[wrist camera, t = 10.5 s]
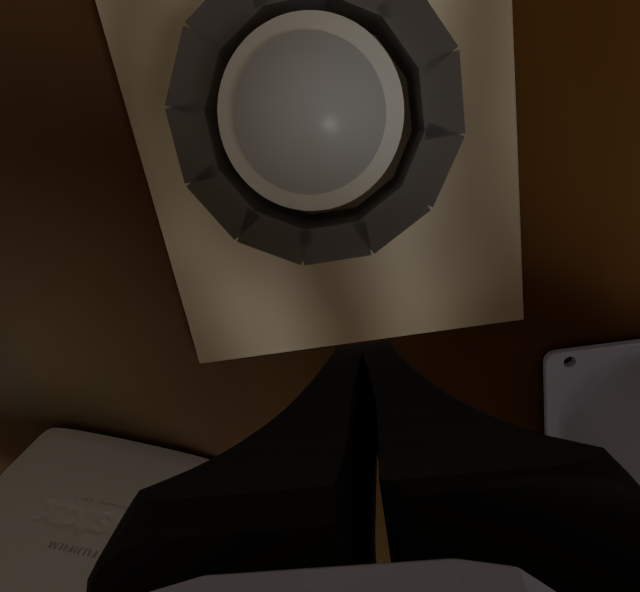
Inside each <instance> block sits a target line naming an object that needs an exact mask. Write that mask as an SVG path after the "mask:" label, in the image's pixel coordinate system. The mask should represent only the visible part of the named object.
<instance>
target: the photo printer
mask: <svg viewBox="0 0 640 592" xmlns="http://www.w3.org/2000/svg"><path fill="white" fill-rule="evenodd" d="M208 460H210V459H206V458H202V457H199V456H195V455H191V454H187V453H183V452H179V451H175V450H171V449H166V448H162V447H158V446H153V445H149V444H144V443H140V442H135V441H130V440H125V439H121V438H117V437H111V436H106V435H101V434H96V433H91V432H86V431H80V430H74V429H66V428H51V429H48V430H47V431H45V432H44V433H43V434H41V435H40V436H39V437H38V438H37V439H36V440H35V441H34V442H33V443H32V444H31V445H30V446H29V447H28V448H27V449H26V450H25V451H24V452H23V453H22V454H21V455H20V456H19V457H18V458H17V459H16V460H15V461H14V462H13V463H12V464H11V465H10V466H9V467H8V468H7V469H6V470H5V471H4V472H3V473H2V474H1V475H0V592H86V589H87V579H88V577H89V575H90V574H91V572H92V570H93V568H94V566H95V564H96V562H97V560H98V558H99V556H100V555H101V553H102V551H103V549H104V548H105V546H106V544H107V543H108V541H109V539H110V537H111V536H112V534H113V532H114V531H115V529H116V527H117V525H118V524H119V522H120V520H121V518H122V517H123V515H124V513H125V512H126V510H127V509H128V507H129V505H130V504H131V502H132V501H133V499H134V497H135V496H136V494H137V493H138V491H139V490H141V489H144V488H146V487H149V486H152V485H154V484H156V483H159V482H161V481H164V480H166V479H168V478H171V477H173V476H176V475H178V474H180V473H183V472H185V471H188V470H190V469H192V468H194V467H196V466H198V465H200V464H202V463H204V462H206V461H208Z"/></svg>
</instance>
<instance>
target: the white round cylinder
mask: <svg viewBox="0 0 640 592" xmlns="http://www.w3.org/2000/svg"><path fill="white" fill-rule="evenodd" d="M217 114H218V125H219V131H220V136H221V139H222V143H223V146H224V149H225V151H226V153H227V155H228V158H229V160H230V161H231V163H232V165H233V166H234V168H235V170H236V171H237V172H238V174H239V175H240V176H241V177H242V179H243V180H244V181H245V182H246V183H247V184H248V185H249V186H250V187H251V188H252V189H254V190H255V191H256V192H257V193H259V194H260V195H261V196H263V197H265V198H266V199H268V200H270V201H272V202H274V203H276V204H279V205H281V206H284V207H288V208H291V209H296V210H303V211H318V210H327V209H331V208H335V207H339V206H341V205H344V204H346V203H349V202H351V201H352V200H354V199H356V198H358V197H359V196H361V195H362V194H364V193H365V192H366V191H368V190H369V189H370V188H371V187H372V186H373V185H374V184H375V183H376V182H377V181H378V180H379V179H380V178H381V176H382V175H383V174H384V173H385V171H386V170H387V168H388V166H389V165H390V163H391V162H392V160H393V157H394V155H395V153H396V151H397V148H398V145H399V142H400V139H401V135H402V130H403V123H404V98H403V92H402V87H401V83H400V80H399V77H398V73H397V71H396V69H395V67H394V64H393V62H392V60H391V59H390V57H389V55H388V54H387V52H386V51H385V49H384V48H383V47H382V45H381V44H380V43H379V42H378V41H377V39H376V38H375V37H374V36H373V35H371V34H370V33H369V32H368V31H367V30H366V29H364V28H363V27H362V26H360V25H359V24H357V23H356V22H354V21H352V20H350V19H348V18H346V17H344V16H341V15H338V14H334V13H331V12H326V11H320V10H301V11H294V12H289V13H286V14H283V15H280V16H277V17H275V18H273V19H271V20H269V21H267V22H265V23H264V24H262V25H261V26H259V27H258V28H256V29H255V30H254V31H253V32H252V33H250V34H249V35H248V36H247V37H246V38H245V39H244V40H243V42H242V43H241V44H240V45H239V46H238V47H237V49H236V51H235V52H234V54H233V55H232V57H231V58H230V60H229V62H228V65H227V67H226V69H225V71H224V74H223V77H222V80H221V84H220V89H219V94H218V105H217Z"/></svg>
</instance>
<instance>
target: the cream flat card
mask: <svg viewBox="0 0 640 592" xmlns="http://www.w3.org/2000/svg"><path fill="white" fill-rule="evenodd" d="M95 2H96V5H97V9H98V12H99V15H100V19H101V22H102V26H103V29H104V33H105V36H106V40H107V43H108V47H109V50H110V54H111V57H112V61H113V64H114V67H115V71H116V74H117V78H118V81H119V85H120V88H121V92H122V95H123V99H124V102H125V106H126V109H127V113H128V116H129V120H130V123H131V126H132V130H133V133H134V137H135V140H136V144H137V147H138V151H139V154H140V158H141V161H142V165H143V168H144V172H145V175H146V178H147V182H148V185H149V189H150V192H151V196H152V199H153V203H154V206H155V210H156V213H157V217H158V220H159V224H160V227H161V231H162V234H163V237H164V241H165V244H166V248H167V251H168V255H169V258H170V262H171V265H172V269H173V272H174V276H175V279H176V283H177V286H178V289H179V293H180V296H181V300H182V303H183V307H184V310H185V314H186V317H187V321H188V324H189V328H190V331H191V335H192V338H193V341H194V345H195V348H196V352H197V355H198V359H199V362H200V363H208V362H215V361H222V360H230V359H237V358H244V357H252V356H259V355H266V354H274V353H281V352H288V351H296V350H303V349H310V348H318V347H325V346H332V345H340V344H347V343H354V342H362V341H369V340H376V339H384V338H391V337H398V336H406V335H413V334H420V333H428V332H435V331H442V330H450V329H457V328H464V327H472V326H479V325H486V324H494V323H501V322H508V321H516V320H523V319H524V313H523V286H522V259H521V232H520V205H519V178H518V151H517V125H516V98H515V71H514V44H513V17H512V0H95ZM301 10H320V11H326V12H331V13H334V14H338V15H341V16H344V17H346V18H348V19H350V20H352V21H354V22H356V23H357V24H359V25H360V26H362V27H363V28H364V29H366V30H367V31H368V32H369V33H370V34H371V35H373V36H374V37H375V38H376V39H377V41H378V42H379V43H380V44H381V45H382V47H383V48H384V49H385V51H386V52H387V54H388V55H389V57H390V59H391V60H392V62H393V64H394V67H395V69H396V71H397V73H398V77H399V80H400V83H401V87H402V92H403V98H404V123H403V130H402V135H401V139H400V142H399V145H398V148H397V151H396V153H395V155H394V157H393V160H392V162H391V163H390V165H389V166H388V168H387V170H386V171H385V173H384V174H383V175H382V176H381V178H380V179H379V180H378V181H377V182H376V183H375V184H374V185H373V186H372V187H371V188H370V189H369V190H368V191H366V192H365V193H364V194H362V195H361V196H359V197H358V198H356V199H354V200H352V201H351V202H349V203H346V204H344V205H341V206H339V207H335V208H331V209H327V210H318V211H303V210H296V209H291V208H288V207H284V206H281V205H279V204H276V203H274V202H272V201H270V200H268V199H266V198H265V197H263V196H261V195H260V194H259V193H257V192H256V191H255V190H254V189H252V188H251V187H250V186H249V185H248V184H247V183H246V182H245V181H244V180H243V179H242V177H241V176H240V175H239V174H238V172H237V171H236V170H235V168H234V166H233V165H232V163H231V161H230V160H229V158H228V155H227V153H226V151H225V149H224V146H223V143H222V139H221V136H220V131H219V125H218V114H217V105H218V94H219V89H220V84H221V80H222V77H223V74H224V71H225V69H226V67H227V65H228V62H229V60H230V58H231V57H232V55H233V54H234V52H235V51H236V49H237V47H238V46H239V45H240V44H241V43H242V42H243V40H244V39H245V38H246V37H247V36H248V35H249V34H250V33H252V32H253V31H254V30H255V29H256V28H258V27H259V26H261V25H262V24H264V23H265V22H267V21H269V20H271V19H273V18H275V17H277V16H280V15H283V14H286V13H289V12H294V11H301Z"/></svg>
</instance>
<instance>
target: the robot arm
mask: <svg viewBox="0 0 640 592" xmlns="http://www.w3.org/2000/svg"><path fill="white" fill-rule="evenodd" d="M568 357H572V360H571V361H570V362H568V363H564V360H565V359H566V358H568ZM543 386H544V428H545V435H544V434H541V433H538V432H535V431H531V430H528V429H525V428H522V427H518V426H515V425H513V424H510V423H507V422H504V421H502V420H499V419H497V418H495V417H492V416H490V415H488V414H485V413H483V412H481V411H478V410H476V409H474V408H472V407H470V406H468V405H466V404H464V403H463V402H461V401H459V400H457V399H456V398H454V397H452V396H450V395H449V394H447V393H446V392H444V391H442V390H441V389H439V388H438V387H437V386H435V385H434V384H433V383H431V382H430V381H429V380H428V379H426V378H425V377H424V376H423V375H422V374H421V373H420V372H418V371H417V370H416V369H415V368H414V367H413V366H412V365H411V364H410V363H409V362H408V361H407V360H406V359H405V358H404V357H403V356H402V355H401V354H400V353H399V352H398V350H397V349H396V348H395V347H394V345H393V344H392V343H391V342H389V341H381V342H373V343H365V344H356V345H348V346H340V347H337V349H336V350H335V351H334V352H333V354H332V355H331V356H330V358H329V359H328V361H327V362H326V363H325V365H324V366H323V367H322V369H321V370H320V371H319V373H318V374H317V375H316V377H315V378H314V379H313V380H312V382H311V383H310V384H309V385H308V386H307V387H306V388H305V389H304V391H303V392H302V393H301V394H300V395H299V396H298V397H297V398H296V399H295V400H294V401H293V402H292V403H291V404H290V405H289V406H288V407H287V408H286V409H285V410H284V411H282V412H281V413H280V414H279V415H278V416H276V417H275V418H274V419H273V420H271V421H270V422H269V423H268V424H266V425H265V426H264V427H262V428H261V429H259V430H258V431H256V432H255V433H253V434H252V435H250V436H249V437H247V438H246V439H244V440H243V441H241V442H240V443H238V444H237V445H235V446H234V447H232V448H230V449H228V450H227V451H225V452H223V453H221V454H220V455H218V456H216V457H214V458H212V459H210V460H208V461H206V462H204V463H202V464H200V465H198V466H196V467H194V468H192V469H190V470H188V471H185V472H183V473H180V474H178V475H176V476H173V477H171V478H168V479H166V480H164V481H161V482H159V483H156V484H154V485H152V486H149V487H146V488H144V489H141V490H139V491H138V493H137V494H136V496H135V497H134V499H133V501H132V502H131V504H130V505H129V507H128V509H127V510H126V512H125V513H124V515H123V517H122V518H121V520H120V522H119V524H118V525H117V527H116V529H115V531H114V532H113V534H112V536H111V537H110V539H109V541H108V543H107V544H106V546H105V548H104V549H103V551H102V553H101V555H100V556H99V558H98V560H97V562H96V564H95V566H94V568H93V570H92V572H91V574H90V575H89V577H88V579H87V589H86V592H640V339H635V340H627V341H619V342H612V343H604V344H596V345H588V346H581V347H573V348H565V349H557V350H552V351H550V352H548V353H547V354H546V355H545V356H544V359H543ZM377 455H378V459H379V482H380V489H381V496H382V503H383V509H384V516H385V523H386V530H387V537H388V544H389V550H390V557H391V562H390V563H376V550H375V517H376V472H377Z"/></svg>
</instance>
